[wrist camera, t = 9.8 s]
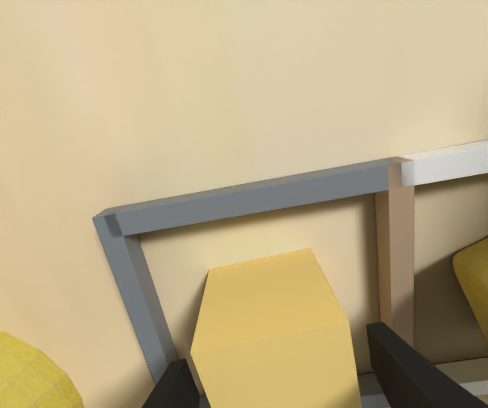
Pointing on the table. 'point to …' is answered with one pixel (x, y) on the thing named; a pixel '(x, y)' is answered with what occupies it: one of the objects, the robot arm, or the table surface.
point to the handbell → (32, 378)
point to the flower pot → (475, 280)
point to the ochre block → (274, 337)
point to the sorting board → (288, 195)
